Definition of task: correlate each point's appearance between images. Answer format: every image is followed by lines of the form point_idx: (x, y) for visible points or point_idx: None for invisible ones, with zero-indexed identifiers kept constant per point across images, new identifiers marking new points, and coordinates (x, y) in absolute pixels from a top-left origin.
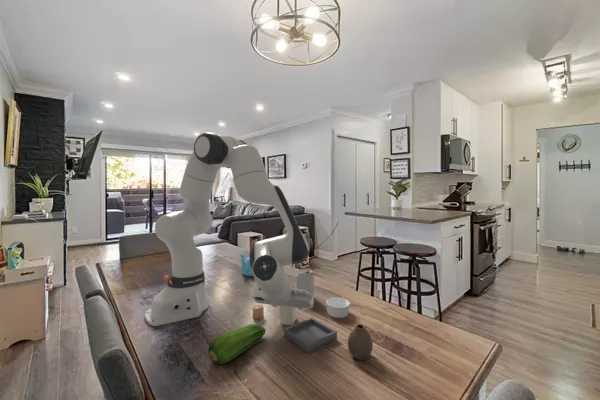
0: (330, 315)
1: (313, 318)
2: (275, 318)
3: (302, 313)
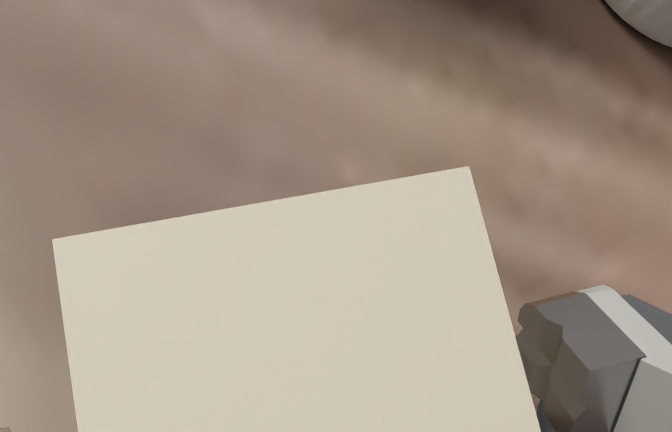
0: (657, 39)
1: (664, 315)
2: (46, 389)
3: (339, 98)
